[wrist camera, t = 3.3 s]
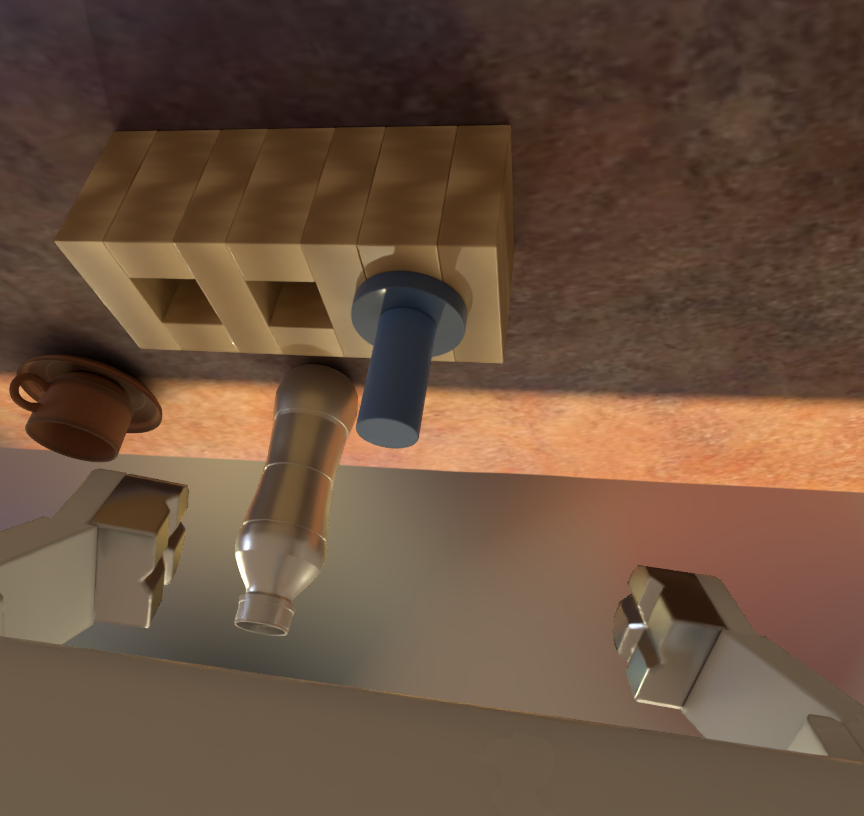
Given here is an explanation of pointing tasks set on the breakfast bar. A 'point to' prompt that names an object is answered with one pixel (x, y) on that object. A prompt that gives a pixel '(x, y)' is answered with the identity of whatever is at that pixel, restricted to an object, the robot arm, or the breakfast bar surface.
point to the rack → (293, 233)
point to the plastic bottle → (293, 496)
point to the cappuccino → (83, 406)
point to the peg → (402, 349)
